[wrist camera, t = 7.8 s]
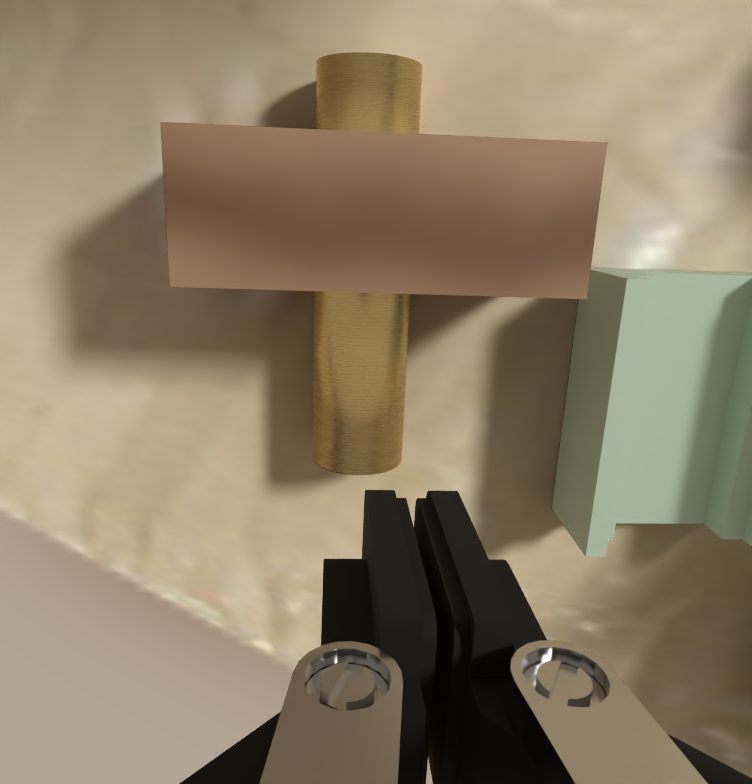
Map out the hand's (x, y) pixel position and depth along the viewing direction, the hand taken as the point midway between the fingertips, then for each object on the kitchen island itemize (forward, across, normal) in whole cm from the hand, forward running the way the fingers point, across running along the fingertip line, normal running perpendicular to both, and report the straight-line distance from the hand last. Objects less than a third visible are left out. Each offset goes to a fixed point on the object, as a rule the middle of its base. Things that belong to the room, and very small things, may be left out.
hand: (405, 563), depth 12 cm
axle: (+16, 0, -4) cm, 16 cm away
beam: (+18, 0, -6) cm, 19 cm away
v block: (+18, -14, +2) cm, 23 cm away
